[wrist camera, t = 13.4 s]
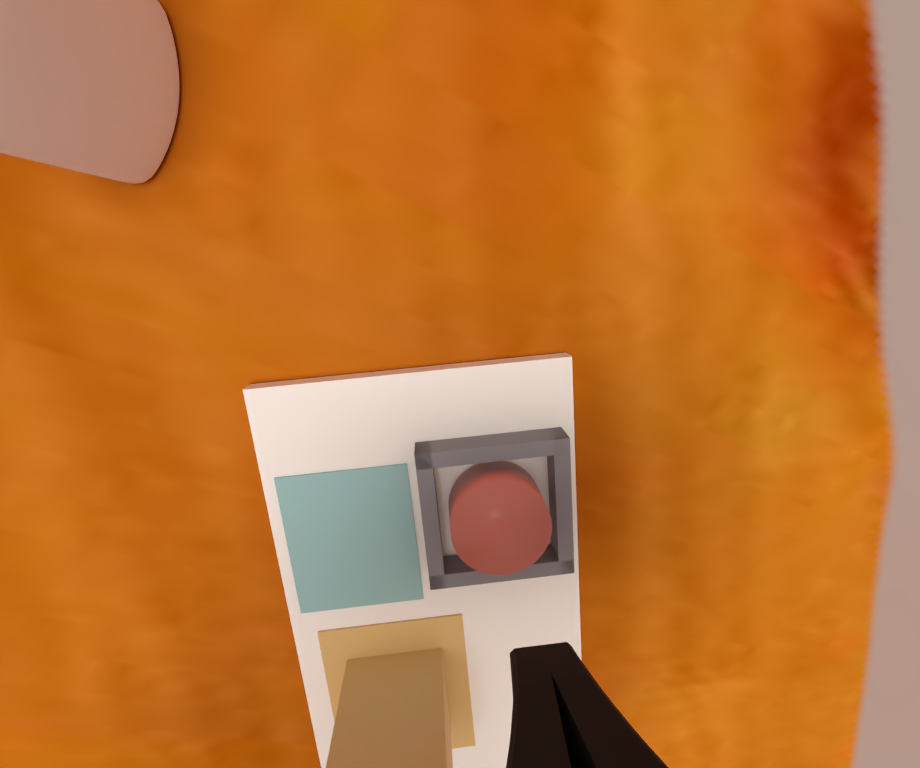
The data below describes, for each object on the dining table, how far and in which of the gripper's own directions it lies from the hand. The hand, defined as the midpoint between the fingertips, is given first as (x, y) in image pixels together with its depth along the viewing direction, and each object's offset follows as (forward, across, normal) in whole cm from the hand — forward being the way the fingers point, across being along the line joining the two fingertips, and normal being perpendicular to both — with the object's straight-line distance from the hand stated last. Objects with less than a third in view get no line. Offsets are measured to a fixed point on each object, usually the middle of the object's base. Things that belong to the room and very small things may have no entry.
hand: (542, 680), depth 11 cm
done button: (+8, 0, 0) cm, 8 cm away
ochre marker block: (+8, +5, +8) cm, 13 cm away
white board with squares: (+9, +3, +4) cm, 11 cm away
